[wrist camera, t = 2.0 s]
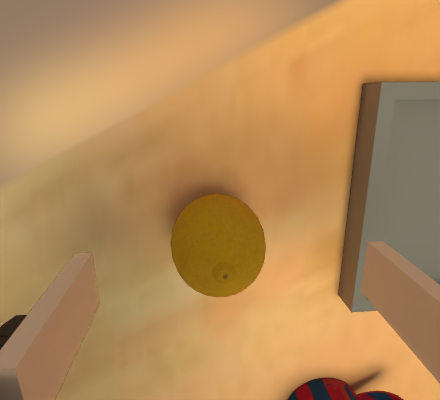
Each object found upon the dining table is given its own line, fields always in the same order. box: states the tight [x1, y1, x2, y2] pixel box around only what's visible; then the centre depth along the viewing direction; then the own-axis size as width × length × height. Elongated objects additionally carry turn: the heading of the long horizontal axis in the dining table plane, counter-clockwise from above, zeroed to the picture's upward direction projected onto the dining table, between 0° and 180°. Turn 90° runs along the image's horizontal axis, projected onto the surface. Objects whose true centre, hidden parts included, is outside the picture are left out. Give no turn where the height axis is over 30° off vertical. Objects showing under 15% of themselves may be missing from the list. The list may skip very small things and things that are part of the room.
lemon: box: [171, 194, 266, 297], centre depth 19 cm, size 6×6×8 cm
